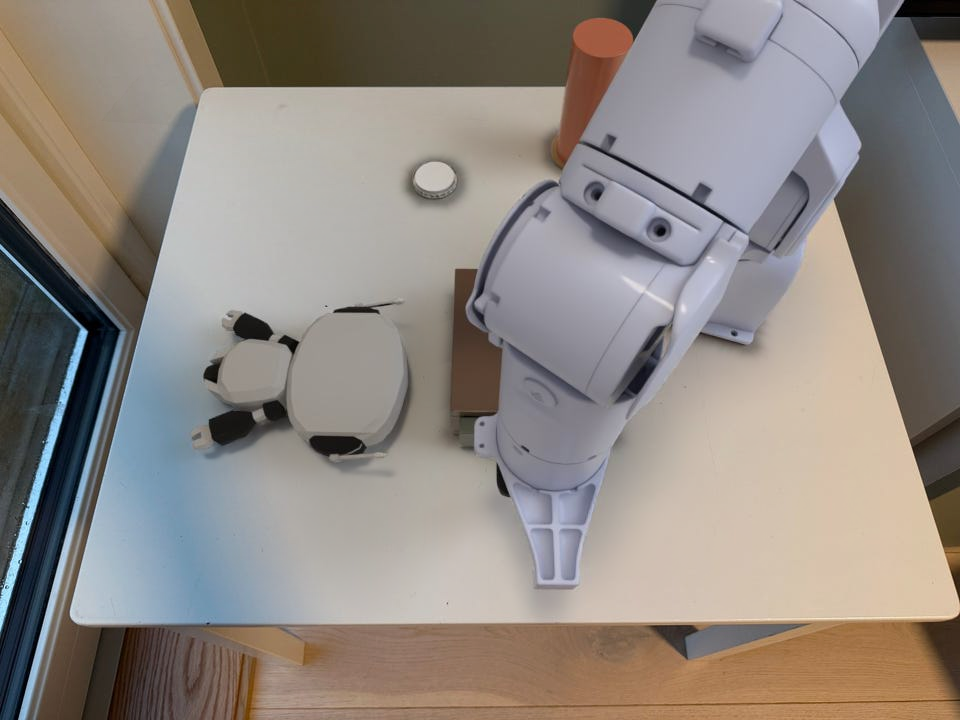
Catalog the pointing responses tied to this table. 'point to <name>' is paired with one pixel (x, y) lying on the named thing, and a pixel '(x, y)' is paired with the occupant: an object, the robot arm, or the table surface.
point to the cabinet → (472, 360)
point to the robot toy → (311, 381)
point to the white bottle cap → (434, 179)
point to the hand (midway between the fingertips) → (537, 483)
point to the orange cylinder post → (589, 76)
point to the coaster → (555, 155)
